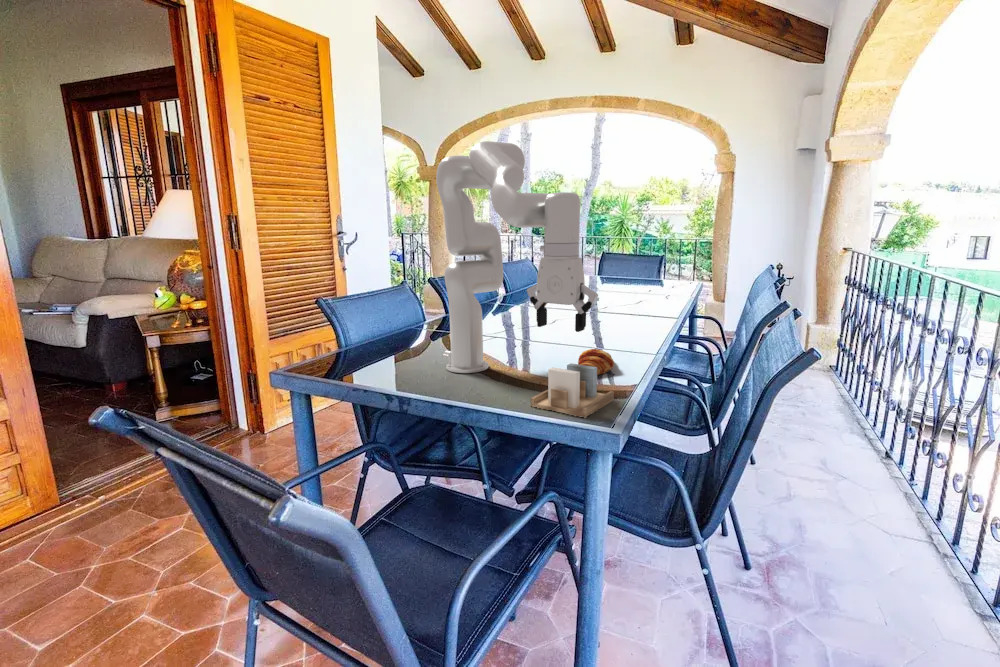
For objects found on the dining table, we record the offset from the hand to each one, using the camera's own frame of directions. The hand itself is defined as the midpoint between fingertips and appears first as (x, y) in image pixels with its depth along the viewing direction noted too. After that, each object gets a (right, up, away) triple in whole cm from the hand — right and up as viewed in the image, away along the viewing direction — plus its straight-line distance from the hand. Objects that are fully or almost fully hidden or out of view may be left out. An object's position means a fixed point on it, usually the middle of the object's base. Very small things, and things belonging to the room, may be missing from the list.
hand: (560, 328), depth 117 cm
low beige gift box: (+1, -17, +3) cm, 18 cm away
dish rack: (+4, -18, +6) cm, 19 cm away
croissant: (+14, -12, +34) cm, 39 cm away
